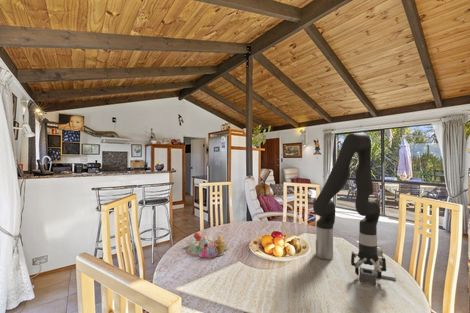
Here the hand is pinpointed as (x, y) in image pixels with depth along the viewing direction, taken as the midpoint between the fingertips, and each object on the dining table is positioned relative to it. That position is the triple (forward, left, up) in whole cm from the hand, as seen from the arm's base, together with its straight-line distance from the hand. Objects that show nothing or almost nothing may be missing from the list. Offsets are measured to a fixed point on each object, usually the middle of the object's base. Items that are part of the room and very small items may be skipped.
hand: (367, 276), depth 107 cm
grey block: (0, 0, -2) cm, 2 cm away
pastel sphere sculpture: (-87, -2, -2) cm, 87 cm away
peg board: (+5, +10, -2) cm, 11 cm away
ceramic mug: (+5, +26, -2) cm, 27 cm away
